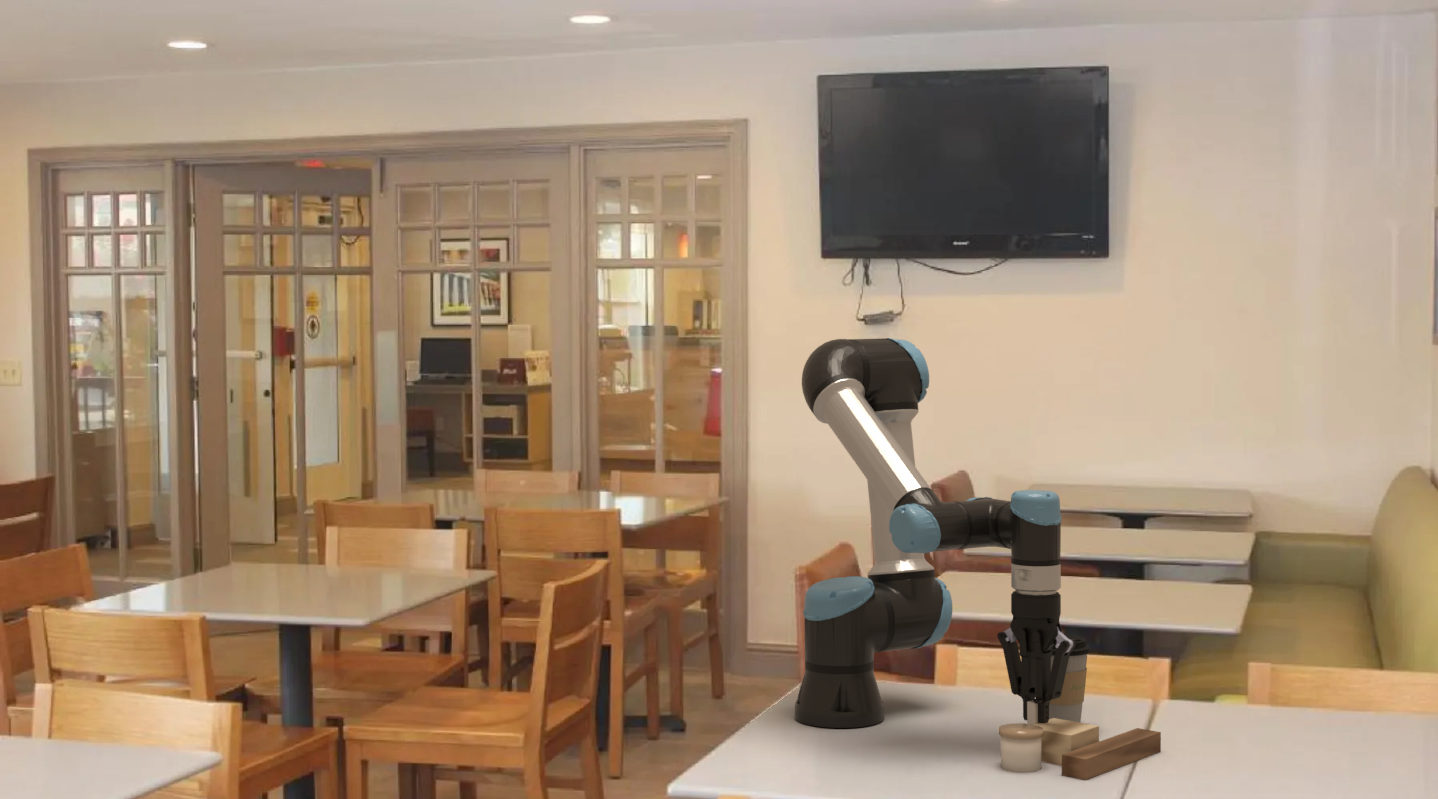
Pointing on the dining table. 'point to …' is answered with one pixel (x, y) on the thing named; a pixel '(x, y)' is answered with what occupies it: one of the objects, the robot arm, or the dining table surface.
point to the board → (1110, 753)
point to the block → (1065, 738)
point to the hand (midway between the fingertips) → (1036, 742)
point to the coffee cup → (1071, 683)
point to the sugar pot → (1021, 747)
